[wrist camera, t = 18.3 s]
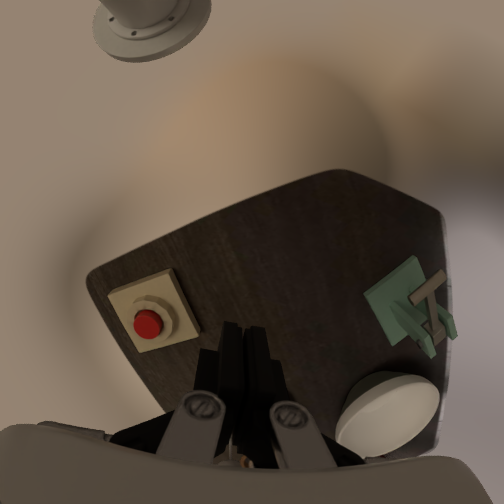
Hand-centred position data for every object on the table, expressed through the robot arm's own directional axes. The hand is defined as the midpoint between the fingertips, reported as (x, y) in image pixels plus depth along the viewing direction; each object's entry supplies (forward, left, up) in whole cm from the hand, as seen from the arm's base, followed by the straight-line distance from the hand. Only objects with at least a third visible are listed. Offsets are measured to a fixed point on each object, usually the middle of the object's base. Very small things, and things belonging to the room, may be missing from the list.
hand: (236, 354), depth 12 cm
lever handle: (+3, +24, -17) cm, 30 cm away
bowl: (+25, +31, -27) cm, 48 cm away
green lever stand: (+6, +28, -27) cm, 39 cm away
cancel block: (+14, -9, -27) cm, 32 cm away
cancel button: (+14, -9, -23) cm, 29 cm away
